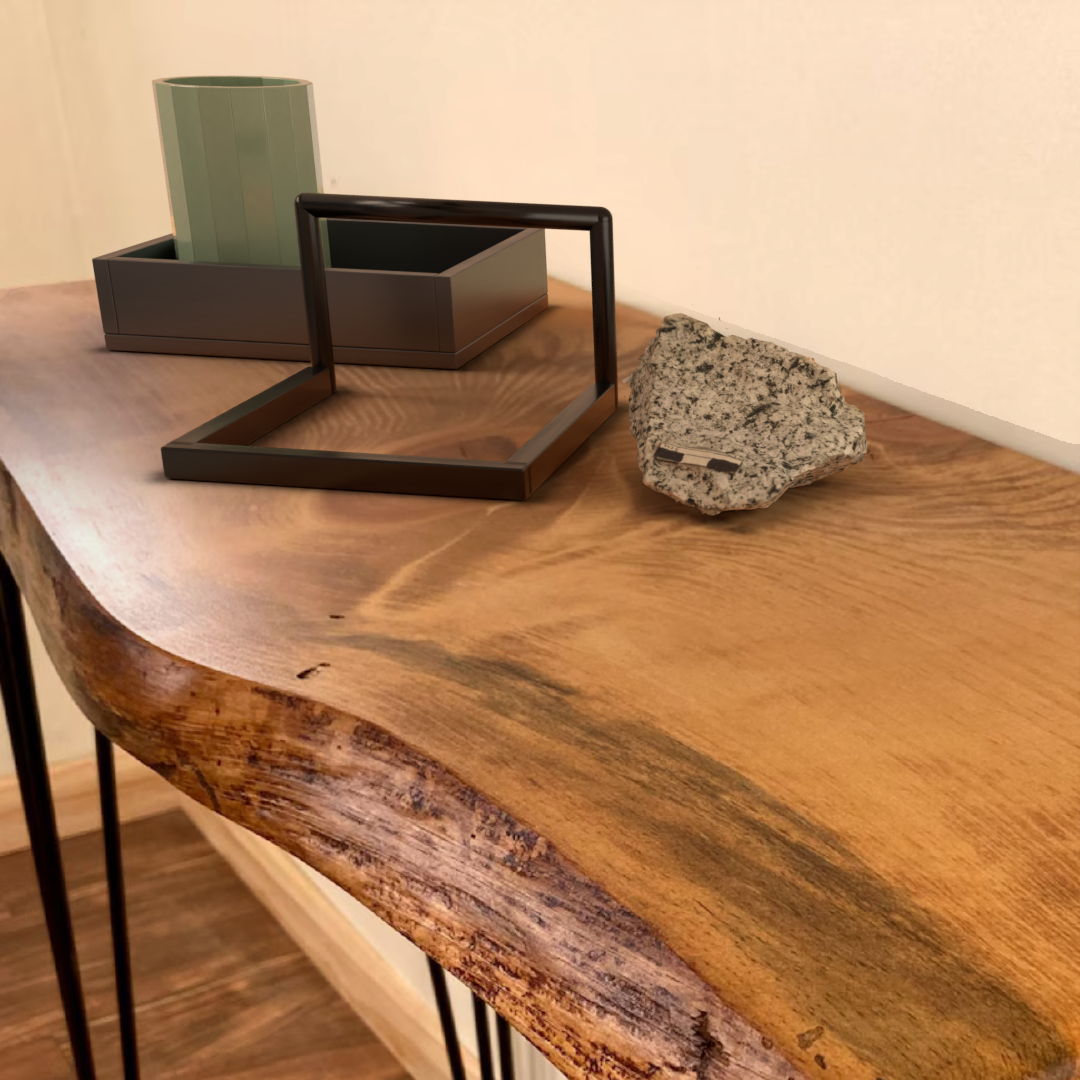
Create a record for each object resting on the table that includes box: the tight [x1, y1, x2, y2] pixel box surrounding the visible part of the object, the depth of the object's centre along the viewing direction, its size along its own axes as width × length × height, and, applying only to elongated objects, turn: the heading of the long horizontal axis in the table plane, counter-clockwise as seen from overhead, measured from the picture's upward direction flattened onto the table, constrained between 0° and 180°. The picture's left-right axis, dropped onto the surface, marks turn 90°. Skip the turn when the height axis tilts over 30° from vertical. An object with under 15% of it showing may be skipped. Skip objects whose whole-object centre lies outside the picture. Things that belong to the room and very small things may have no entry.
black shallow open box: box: [91, 218, 549, 370], centre depth 92 cm, size 18×17×4 cm
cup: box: [151, 75, 331, 268], centre depth 90 cm, size 7×7×11 cm
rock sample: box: [621, 304, 874, 516], centre depth 67 cm, size 10×8×9 cm
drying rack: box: [160, 192, 619, 501], centre depth 72 cm, size 14×16×8 cm
